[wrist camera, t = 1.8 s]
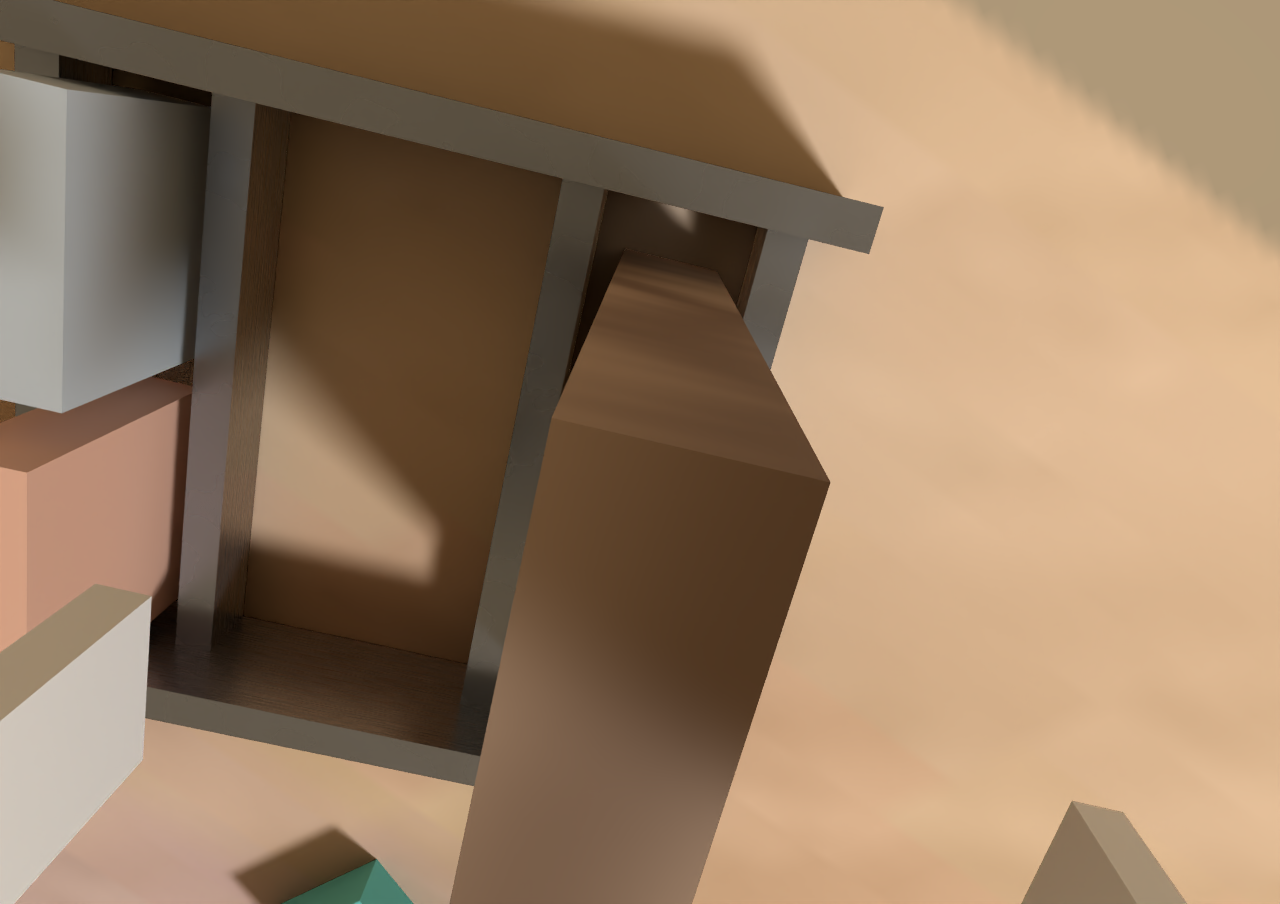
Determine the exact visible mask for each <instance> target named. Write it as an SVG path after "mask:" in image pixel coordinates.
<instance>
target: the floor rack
mask: <svg viewBox="0 0 1280 904" xmlns="http://www.w3.org/2000/svg"><path fill="white" fill-rule="evenodd" d="M0 40H1V41H5V42H10V43H14V44H15V71H17V72H24V73H30V74H37V75H44V76H51V77H58V78H65V79H71V80H78V81H85V82H92V83H99V84H105V85H112V68H115V69H119V70H123V71H127V72H131V73H136V74H140V75H144V76H148V77H152V78H156V79H160V80H164V81H168V82H172V83H176V84H180V85H184V86H188V87H192V88H197V89H201V90H205V91H209V92H212V104H211V119H210V134H209V149H208V164H207V179H206V194H205V208H204V223H203V238H202V253H201V268H200V283H199V298H198V313H197V328H196V343H195V358H194V373H193V387H192V402H191V417H190V432H189V447H188V462H187V477H186V492H185V507H184V522H183V537H182V552H181V566H180V581H179V596H178V602H175V601H174V602H173V603H172V604H170V605H169V606H168V607H167V608H166V609H165V610H164V611H163V612H162V613H160V614H159V615H158V616H157V617H156V618H155V619H154V620H153V621H151V622H150V637H149V655H148V674H147V692H146V711H145V718H148V719H152V720H157V721H162V722H167V723H172V724H177V725H181V726H186V727H191V728H196V729H201V730H206V731H210V732H215V733H220V734H225V735H230V736H234V737H239V738H244V739H249V740H254V741H259V742H263V743H268V744H273V745H278V746H283V747H288V748H292V749H297V750H302V751H307V752H312V753H317V754H321V755H326V756H331V757H336V758H341V759H345V760H350V761H355V762H360V763H365V764H370V765H374V766H379V767H384V768H389V769H394V770H399V771H403V772H408V773H413V774H418V775H423V776H428V777H432V778H437V779H442V780H447V781H452V782H456V783H461V784H466V785H471V786H474V785H475V780H476V776H477V771H478V766H479V761H480V756H481V752H482V747H483V742H484V737H485V733H486V728H487V723H488V718H489V714H490V709H491V704H492V699H493V695H494V690H495V685H496V680H497V676H498V671H499V666H500V661H501V656H502V652H503V647H504V642H505V637H506V633H507V628H508V623H509V618H510V614H511V609H512V604H513V599H514V595H515V590H516V585H517V580H518V576H519V571H520V566H521V561H522V556H523V552H524V547H525V542H526V537H527V533H528V528H529V523H530V518H531V514H532V509H533V504H534V499H535V495H536V490H537V485H538V480H539V475H540V471H541V466H542V461H543V456H544V452H545V447H546V442H547V437H548V433H549V428H550V423H551V418H552V416H553V413H554V411H555V409H556V407H557V404H558V402H559V400H560V397H561V395H562V393H563V390H564V388H565V386H566V384H567V381H568V377H569V372H570V368H571V363H572V358H573V354H574V349H575V344H576V340H577V335H578V330H579V326H580V321H581V316H582V312H583V307H584V302H585V297H586V293H587V288H588V283H589V279H590V274H591V269H592V265H593V260H594V255H595V251H596V246H597V241H598V236H599V232H600V227H601V222H602V218H603V213H604V208H605V204H606V199H607V194H608V190H611V191H615V192H619V193H623V194H627V195H631V196H636V197H640V198H644V199H648V200H652V201H656V202H660V203H664V204H668V205H672V206H676V207H680V208H684V209H688V210H692V211H696V212H701V213H705V214H709V215H713V216H717V217H721V218H725V219H729V220H733V221H737V222H741V223H745V224H749V225H753V226H757V227H758V229H757V232H756V236H755V240H754V243H753V247H752V251H751V254H750V258H749V262H748V265H747V269H746V273H745V276H744V280H743V284H742V288H741V291H740V295H739V299H738V302H737V306H736V308H737V309H738V311H739V313H740V315H741V317H742V319H743V321H744V322H745V324H746V326H747V328H748V330H749V332H750V334H751V335H752V337H753V339H754V341H755V343H756V345H757V347H758V348H759V350H760V352H761V354H762V356H763V358H764V360H765V361H766V363H767V365H768V367H769V369H771V366H772V362H773V359H774V356H775V352H776V349H777V345H778V342H779V338H780V335H781V332H782V328H783V325H784V321H785V318H786V314H787V311H788V307H789V304H790V301H791V297H792V294H793V290H794V287H795V283H796V280H797V277H798V273H799V270H800V266H801V263H802V259H803V256H804V252H805V249H806V246H807V242H808V239H810V240H814V241H818V242H822V243H827V244H831V245H835V246H839V247H843V248H847V249H851V250H855V251H859V252H863V253H867V254H869V252H870V249H871V246H872V243H873V240H874V236H875V233H876V230H877V227H878V224H879V221H880V217H881V214H882V211H883V208H884V207H880V206H876V205H872V204H868V203H864V202H860V201H856V200H852V199H848V198H844V197H840V196H836V195H832V194H828V193H824V192H820V191H816V190H812V189H808V188H804V187H800V186H796V185H792V184H788V183H784V182H780V181H776V180H772V179H768V178H764V177H760V176H756V175H752V174H748V173H744V172H740V171H736V170H732V169H728V168H724V167H720V166H716V165H712V164H708V163H704V162H700V161H696V160H692V159H688V158H684V157H680V156H676V155H672V154H668V153H664V152H660V151H656V150H652V149H648V148H644V147H640V146H636V145H632V144H628V143H624V142H620V141H616V140H612V139H608V138H604V137H600V136H596V135H592V134H588V133H584V132H580V131H575V130H571V129H567V128H563V127H559V126H555V125H551V124H547V123H543V122H539V121H535V120H531V119H527V118H523V117H519V116H515V115H511V114H507V113H503V112H499V111H495V110H491V109H487V108H483V107H479V106H475V105H471V104H467V103H463V102H459V101H455V100H451V99H447V98H443V97H439V96H435V95H431V94H427V93H423V92H419V91H415V90H411V89H407V88H403V87H399V86H395V85H391V84H387V83H383V82H379V81H375V80H371V79H367V78H363V77H359V76H355V75H351V74H347V73H343V72H339V71H335V70H331V69H327V68H323V67H319V66H315V65H311V64H307V63H303V62H299V61H295V60H291V59H287V58H283V57H279V56H275V55H271V54H267V53H263V52H258V51H254V50H250V49H246V48H242V47H238V46H234V45H230V44H226V43H222V42H218V41H214V40H210V39H206V38H202V37H198V36H194V35H190V34H186V33H182V32H178V31H174V30H170V29H166V28H162V27H158V26H154V25H150V24H146V23H142V22H138V21H134V20H130V19H126V18H122V17H118V16H114V15H110V14H106V13H102V12H98V11H94V10H90V9H86V8H82V7H78V6H74V5H70V4H66V3H62V2H58V1H54V0H0ZM291 112H294V113H298V114H302V115H306V116H310V117H314V118H318V119H323V120H327V121H331V122H335V123H339V124H343V125H347V126H351V127H355V128H359V129H363V130H367V131H371V132H375V133H379V134H383V135H388V136H392V137H396V138H400V139H404V140H408V141H412V142H416V143H420V144H424V145H428V146H432V147H436V148H440V149H444V150H449V151H453V152H457V153H461V154H465V155H469V156H473V157H477V158H481V159H485V160H489V161H493V162H497V163H501V164H505V165H510V166H514V167H518V168H522V169H526V170H530V171H534V172H538V173H542V174H546V175H550V176H554V177H558V178H562V179H563V180H562V185H561V190H560V195H559V200H558V205H557V211H556V216H555V221H554V226H553V231H552V236H551V241H550V246H549V251H548V256H547V262H546V267H545V272H544V277H543V282H542V287H541V292H540V297H539V302H538V308H537V313H536V318H535V323H534V328H533V333H532V338H531V343H530V348H529V353H528V359H527V364H526V369H525V374H524V379H523V384H522V389H521V394H520V399H519V405H518V410H517V415H516V420H515V425H514V430H513V435H512V440H511V445H510V451H509V456H508V461H507V466H506V471H505V476H504V481H503V486H502V491H501V496H500V502H499V507H498V512H497V517H496V522H495V527H494V532H493V537H492V542H491V548H490V553H489V558H488V563H487V568H486V573H485V578H484V583H483V588H482V593H481V599H480V604H479V609H478V614H477V619H476V624H475V629H474V634H473V639H472V645H471V650H470V655H469V660H468V664H464V663H459V662H454V661H450V660H445V659H440V658H436V657H431V656H426V655H422V654H417V653H412V652H408V651H403V650H398V649H394V648H389V647H384V646H380V645H375V644H371V643H366V642H361V641H357V640H352V639H347V638H343V637H338V636H333V635H329V634H324V633H319V632H315V631H310V630H305V629H301V628H296V627H291V626H287V625H282V624H277V623H273V622H268V621H263V620H259V619H254V618H249V617H245V616H243V609H244V599H245V588H246V578H247V567H248V557H249V546H250V536H251V525H252V515H253V504H254V494H255V483H256V473H257V462H258V452H259V441H260V431H261V420H262V410H263V399H264V389H265V378H266V368H267V357H268V347H269V336H270V326H271V315H272V305H273V294H274V284H275V273H276V263H277V252H278V242H279V231H280V221H281V210H282V200H283V189H284V179H285V168H286V158H287V147H288V137H289V126H290V116H291ZM34 409H37V408H36V407H31V406H27V405H23V404H18V403H15V417H16V416H18V415H21V414H24V413H26V412H29V411H31V410H34Z"/></svg>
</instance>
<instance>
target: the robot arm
mask: <svg viewBox="0 0 1280 904" xmlns="http://www.w3.org/2000/svg"><path fill="white" fill-rule="evenodd" d="M151 600H152V596H149V595H144V594H140V593H135V592H131V591H126V590H122V589H117V588H113V587H108V586H104V585H99V584H94V585H93V586H92V587H90V588H89V589H87V590H86V591H85V592H83V593H82V594H80V595H79V596H78V597H76V598H75V599H74V600H72V601H71V602H69V603H68V604H67V605H65V606H64V607H62V608H61V609H60V610H58V611H57V612H56V613H54V614H53V615H51V616H50V617H49V618H47V619H46V620H44V621H43V622H42V623H40V624H39V625H38V626H36V627H35V628H33V629H32V630H31V631H29V632H28V633H26V634H25V635H24V636H22V637H21V638H20V639H18V640H17V641H15V642H14V643H13V644H11V645H10V646H8V647H7V648H6V649H4V650H3V651H2V652H0V904H14V903H15V902H16V901H17V900H18V899H19V898H20V897H21V896H22V894H23V893H24V892H25V891H26V890H27V889H28V888H29V887H30V885H31V884H32V883H33V882H34V881H35V880H36V879H37V878H38V877H39V875H40V874H41V873H42V872H43V871H44V870H45V869H46V868H47V866H48V865H49V864H50V863H51V862H52V861H53V860H54V859H55V857H56V856H57V855H58V854H59V853H60V852H61V851H62V850H63V849H64V847H65V846H66V845H67V844H68V843H69V842H70V841H71V840H72V838H73V837H74V836H75V835H76V834H77V833H78V832H79V831H80V830H81V828H82V827H83V826H84V825H85V824H86V823H87V822H88V821H89V819H90V818H91V817H92V816H93V815H94V814H95V813H96V812H97V810H98V809H99V808H100V807H101V806H102V805H103V804H104V803H105V802H106V800H107V799H108V798H109V797H110V796H111V795H112V794H113V793H114V791H115V790H116V789H117V788H118V787H119V786H120V785H121V784H122V782H123V781H124V780H125V779H126V778H127V777H128V776H129V775H130V774H131V772H132V771H133V770H134V769H135V768H136V767H137V766H138V765H139V763H140V762H141V761H142V760H143V748H144V729H145V711H146V692H147V674H148V655H149V637H150V619H151ZM1022 904H1187V903H1186V901H1185V900H1184V898H1183V897H1182V895H1181V894H1180V893H1179V891H1178V890H1177V888H1176V887H1175V885H1174V884H1173V883H1172V881H1171V880H1170V878H1169V877H1168V875H1167V874H1166V873H1165V871H1164V870H1163V868H1162V867H1161V865H1160V864H1159V863H1158V861H1157V860H1156V858H1155V857H1154V855H1153V854H1152V853H1151V851H1150V850H1149V848H1148V847H1147V845H1146V844H1145V843H1144V841H1143V840H1142V838H1141V837H1140V835H1139V834H1138V833H1137V831H1136V830H1135V828H1134V827H1133V825H1132V824H1131V823H1130V821H1129V820H1128V818H1127V817H1126V815H1125V814H1124V813H1123V812H1120V811H1115V810H1111V809H1106V808H1102V807H1097V806H1093V805H1088V804H1084V803H1079V802H1075V801H1072V802H1071V804H1070V806H1069V808H1068V810H1067V812H1066V814H1065V816H1064V818H1063V820H1062V822H1061V824H1060V826H1059V828H1058V830H1057V832H1056V835H1055V837H1054V839H1053V841H1052V843H1051V845H1050V847H1049V849H1048V851H1047V853H1046V855H1045V857H1044V859H1043V861H1042V863H1041V865H1040V867H1039V869H1038V871H1037V873H1036V875H1035V877H1034V879H1033V881H1032V883H1031V885H1030V887H1029V889H1028V891H1027V893H1026V895H1025V897H1024V899H1023V902H1022Z"/></svg>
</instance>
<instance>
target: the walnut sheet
mask: <svg viewBox="0 0 1280 904" xmlns="http://www.w3.org/2000/svg"><path fill="white" fill-rule="evenodd" d="M829 485H830V481H829V479H828V477H827V475H826V473H825V471H824V469H823V468H822V466H821V464H820V462H819V460H818V458H817V456H816V455H815V453H814V451H813V449H812V447H811V445H810V443H809V441H808V440H807V438H806V436H805V434H804V432H803V430H802V428H801V427H800V425H799V423H798V421H797V419H796V417H795V415H794V414H793V412H792V410H791V408H790V406H789V404H788V402H787V401H786V399H785V397H784V395H783V393H782V391H781V389H780V388H779V386H778V384H777V382H776V380H775V378H774V376H773V375H772V373H771V371H770V369H769V367H768V365H767V363H766V361H765V360H764V358H763V356H762V354H761V352H760V350H759V348H758V347H757V345H756V343H755V341H754V339H753V337H752V335H751V334H750V332H749V330H748V328H747V326H746V324H745V322H744V321H743V319H742V317H741V315H740V313H739V311H738V309H737V308H736V306H735V304H734V302H733V300H732V298H731V296H730V295H729V293H728V291H727V289H726V287H725V285H724V283H723V281H722V280H721V278H720V276H719V274H718V272H717V271H716V270H712V269H707V268H703V267H699V266H695V265H691V264H687V263H683V262H679V261H674V260H670V259H666V258H662V257H658V256H654V255H650V254H646V253H641V252H637V251H633V250H629V249H625V250H624V252H623V255H622V257H621V259H620V262H619V264H618V266H617V268H616V271H615V273H614V275H613V278H612V280H611V282H610V285H609V287H608V289H607V291H606V294H605V296H604V298H603V301H602V303H601V305H600V308H599V310H598V312H597V314H596V317H595V319H594V321H593V324H592V326H591V328H590V331H589V333H588V335H587V338H586V340H585V342H584V344H583V347H582V349H581V351H580V354H579V356H578V358H577V361H576V363H575V365H574V367H573V370H572V372H571V374H570V377H569V379H568V381H567V384H566V386H565V388H564V390H563V393H562V395H561V397H560V400H559V402H558V404H557V407H556V409H555V411H554V413H553V416H552V418H551V423H550V428H549V433H548V437H547V442H546V447H545V452H544V456H543V461H542V466H541V471H540V475H539V480H538V485H537V490H536V495H535V499H534V504H533V509H532V514H531V518H530V523H529V528H528V533H527V537H526V542H525V547H524V552H523V556H522V561H521V566H520V571H519V576H518V580H517V585H516V590H515V595H514V599H513V604H512V609H511V614H510V618H509V623H508V628H507V633H506V637H505V642H504V647H503V652H502V656H501V661H500V666H499V671H498V676H497V680H496V685H495V690H494V695H493V699H492V704H491V709H490V714H489V718H488V723H487V728H486V733H485V737H484V742H483V747H482V752H481V756H480V761H479V766H478V771H477V776H476V780H475V785H474V790H473V795H472V799H471V804H470V809H469V814H468V818H467V823H466V828H465V833H464V837H463V842H462V847H461V852H460V856H459V861H458V866H457V871H456V876H455V880H454V885H453V890H452V895H451V899H450V904H692V902H693V899H694V896H695V893H696V890H697V887H698V884H699V881H700V878H701V875H702V872H703V869H704V866H705V862H706V859H707V856H708V853H709V850H710V847H711V844H712V841H713V838H714V835H715V832H716V829H717V826H718V823H719V820H720V817H721V814H722V811H723V808H724V805H725V802H726V799H727V796H728V792H729V789H730V786H731V783H732V780H733V777H734V774H735V771H736V768H737V765H738V762H739V759H740V756H741V753H742V750H743V747H744V744H745V741H746V738H747V735H748V732H749V729H750V726H751V722H752V719H753V716H754V713H755V710H756V707H757V704H758V701H759V698H760V695H761V692H762V689H763V686H764V683H765V680H766V677H767V674H768V671H769V668H770V665H771V662H772V659H773V656H774V652H775V649H776V646H777V643H778V640H779V637H780V634H781V631H782V628H783V625H784V622H785V619H786V616H787V613H788V610H789V607H790V604H791V601H792V598H793V595H794V592H795V589H796V586H797V583H798V579H799V576H800V573H801V570H802V567H803V564H804V561H805V558H806V555H807V552H808V549H809V546H810V543H811V540H812V537H813V534H814V531H815V528H816V525H817V522H818V519H819V516H820V513H821V509H822V506H823V503H824V500H825V497H826V494H827V491H828V488H829Z"/></svg>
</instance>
